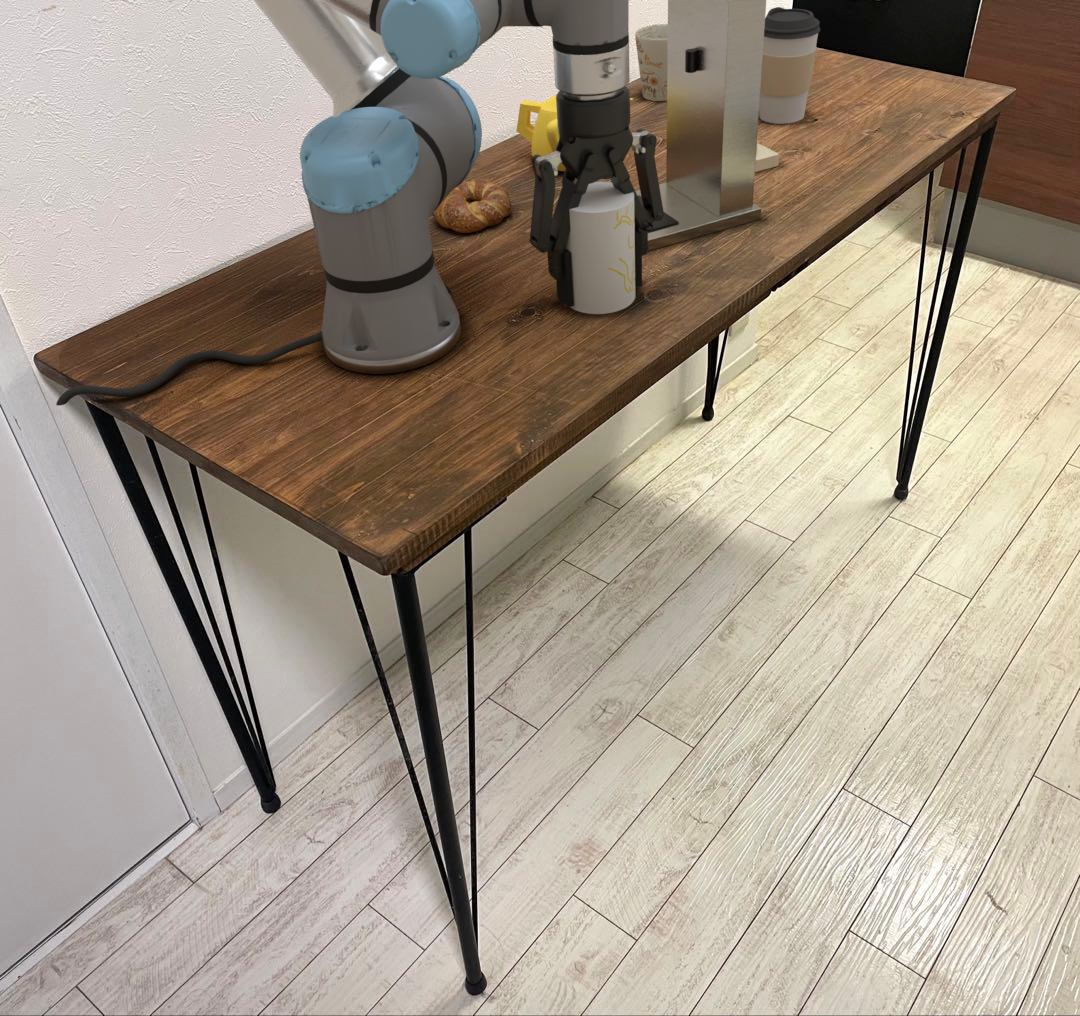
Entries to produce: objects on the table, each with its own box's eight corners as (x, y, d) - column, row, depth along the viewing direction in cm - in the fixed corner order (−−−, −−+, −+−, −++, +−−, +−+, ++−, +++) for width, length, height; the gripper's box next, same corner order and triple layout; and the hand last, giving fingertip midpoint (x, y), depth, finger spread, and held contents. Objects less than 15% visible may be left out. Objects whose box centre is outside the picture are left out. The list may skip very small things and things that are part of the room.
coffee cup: (824, 115, 157) (835, 10, 147) (781, 130, 153) (789, 24, 144) (782, 101, 163) (790, 0, 153) (739, 116, 159) (745, 12, 150)
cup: (630, 315, 114) (628, 213, 106) (559, 312, 116) (552, 211, 108) (639, 281, 120) (638, 182, 112) (571, 278, 122) (566, 181, 114)
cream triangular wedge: (718, 182, 140) (719, 157, 138) (687, 164, 146) (687, 139, 144) (778, 165, 143) (780, 141, 141) (746, 148, 149) (747, 124, 147)
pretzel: (500, 237, 132) (498, 210, 129) (420, 235, 134) (416, 208, 132) (522, 199, 141) (520, 173, 138) (447, 197, 143) (443, 171, 140)
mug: (631, 90, 172) (631, 27, 166) (704, 82, 173) (707, 19, 166) (640, 106, 166) (640, 41, 160) (716, 98, 166) (719, 33, 160)
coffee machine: (623, 258, 125) (619, 0, 106) (572, 218, 135) (559, -24, 116) (760, 219, 131) (778, -32, 112) (701, 183, 141) (709, -53, 122)
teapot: (635, 165, 147) (634, 94, 141) (550, 185, 144) (545, 113, 137) (594, 136, 157) (591, 69, 151) (513, 154, 154) (507, 86, 147)
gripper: (513, 121, 97) (531, 330, 112) (701, 77, 103) (695, 281, 118) (482, 100, 102) (503, 302, 117) (663, 59, 109) (662, 256, 123)
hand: (599, 291), depth 117 cm, fingers closed on cup, 8 cm apart
